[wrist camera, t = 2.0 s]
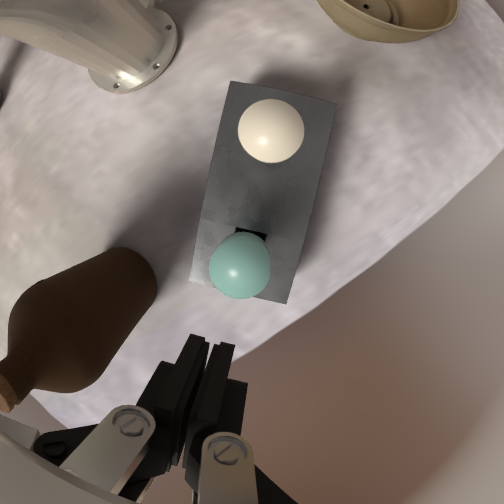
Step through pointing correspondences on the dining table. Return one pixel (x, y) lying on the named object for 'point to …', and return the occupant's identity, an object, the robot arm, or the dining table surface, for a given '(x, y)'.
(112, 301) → the olive oil
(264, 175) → the mount block
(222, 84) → the dining table surface
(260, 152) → the cream knob
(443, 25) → the planter bowl
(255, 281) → the teal knob
